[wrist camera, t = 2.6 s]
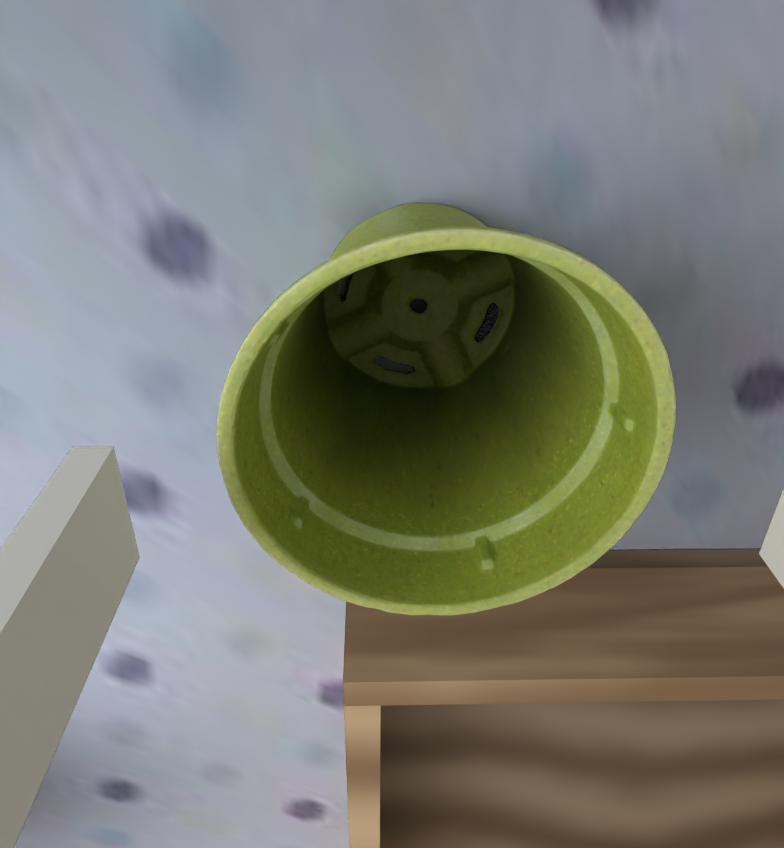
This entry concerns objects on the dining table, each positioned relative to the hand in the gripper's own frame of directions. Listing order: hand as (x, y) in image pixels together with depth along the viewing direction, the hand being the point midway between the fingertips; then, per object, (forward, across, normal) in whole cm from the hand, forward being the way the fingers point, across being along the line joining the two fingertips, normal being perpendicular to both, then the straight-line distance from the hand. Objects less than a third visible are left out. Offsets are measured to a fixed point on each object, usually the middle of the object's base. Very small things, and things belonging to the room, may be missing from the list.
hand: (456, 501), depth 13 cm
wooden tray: (+10, +10, -22) cm, 26 cm away
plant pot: (+10, 0, +1) cm, 10 cm away
